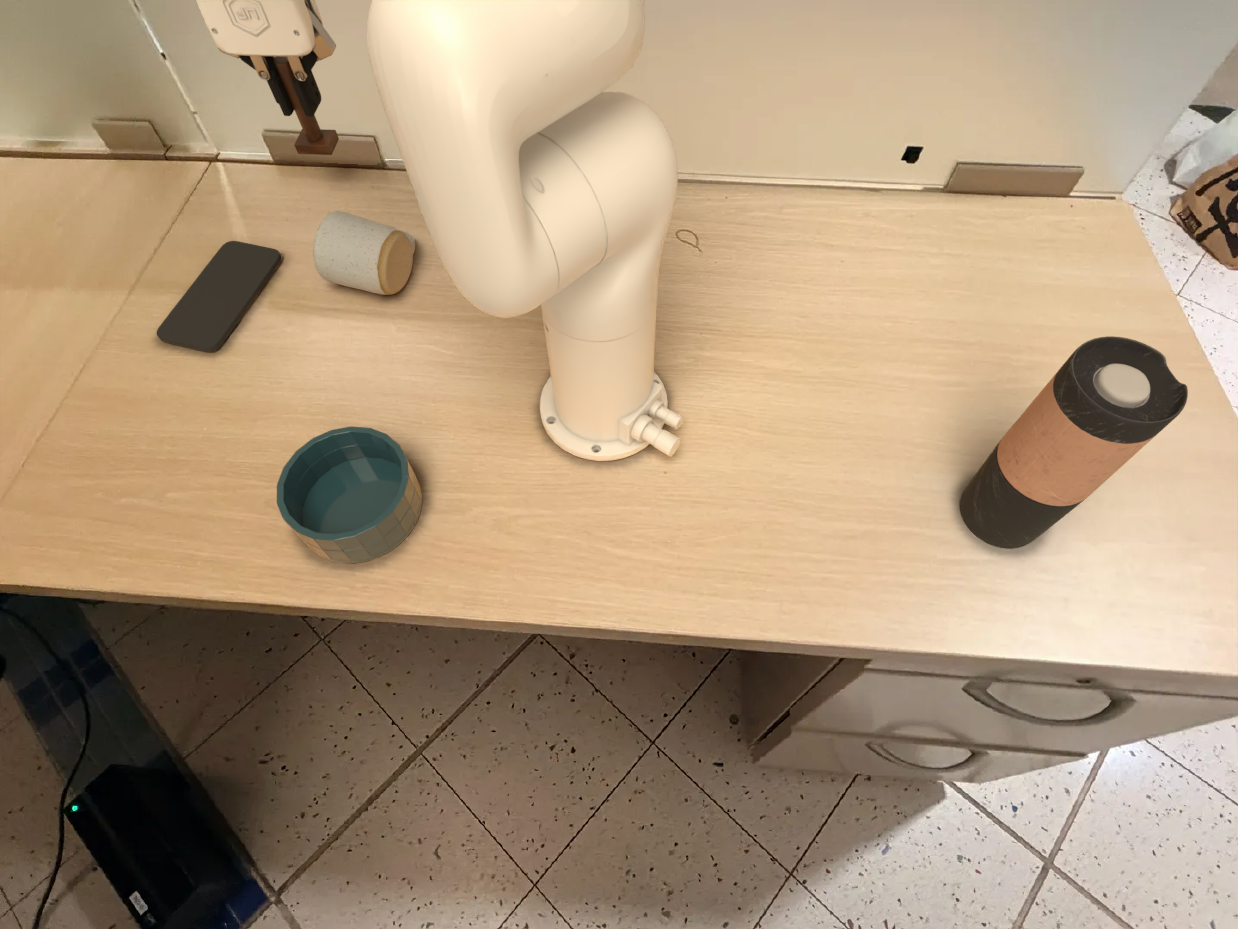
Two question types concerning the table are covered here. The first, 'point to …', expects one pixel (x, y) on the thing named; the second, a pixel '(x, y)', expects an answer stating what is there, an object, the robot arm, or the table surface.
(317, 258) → the ceramic mug
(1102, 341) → the travel mug
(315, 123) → the wooden stamp
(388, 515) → the bowl
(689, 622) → the table surface
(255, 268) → the phone
